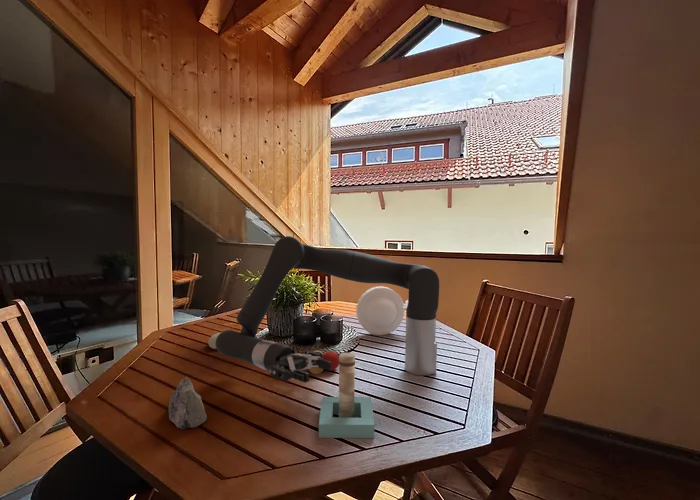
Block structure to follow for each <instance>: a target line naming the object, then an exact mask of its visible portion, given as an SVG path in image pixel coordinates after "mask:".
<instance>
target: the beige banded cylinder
mask: <svg viewBox="0 0 700 500" xmlns="http://www.w3.org/2000/svg"><path fill="white" fill-rule="evenodd" d="M338 356H339V366H338V376H339V377H338V397H339V414H338V418H355V415H354V397H355V387H356V386H355V385H356V384H355V376H356V373H355V371H356V365H355V364H356V355H355V354H354V353H352V352H342V353H340V354H338Z"/></svg>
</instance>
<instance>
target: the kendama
mask: <svg viewBox="0 0 700 500" xmlns="http://www.w3.org/2000/svg"><path fill="white" fill-rule="evenodd" d="M313 352H317V353H321V354H323V359H324V360H327V361H330V362H331V370H329V372H333V371H335V370H336V369H337V368H339V354H338V353H337V352H335V351H333V350H328V351H325V352H323V351H321V350H314V351H313ZM311 363H314V362H311ZM306 365H308V362H307V361H306ZM308 370H309V372H310V373H312V374H314V375H315V374H316V375H319V374H321V373H322V372H323V371H324V369H322V368H319V367H311V369H308Z"/></svg>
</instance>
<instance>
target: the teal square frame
mask: <svg viewBox="0 0 700 500" xmlns="http://www.w3.org/2000/svg"><path fill="white" fill-rule="evenodd" d="M334 415H339V396H322V400H321V407H320V412H319V419H318V421H319V422H318V438H322V439H323V438H324V439H325V438H328V439H335V438H336V439H340V438H341V439H374V438H375V418H374V411H373V402H372V397H371V396H366V397H365V396H363V397H362V396H354V416H355V415H357V416H358V415H359V416H360V417H354V418H339V417H334Z"/></svg>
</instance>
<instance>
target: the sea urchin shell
mask: <svg viewBox="0 0 700 500" xmlns="http://www.w3.org/2000/svg"><path fill="white" fill-rule="evenodd" d="M220 333H221V332H217V333H214V334H212V335H211V336H210V337H209V339H208V341H207V343H208V346H209V347H210V348H211V349H213V350H217V348H216V344H215V343H216V338H217V337H218V335H219V334H220Z"/></svg>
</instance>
